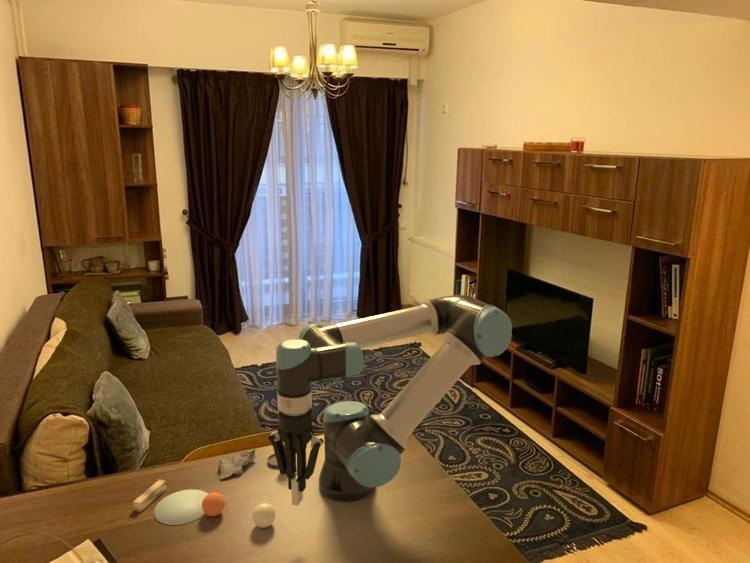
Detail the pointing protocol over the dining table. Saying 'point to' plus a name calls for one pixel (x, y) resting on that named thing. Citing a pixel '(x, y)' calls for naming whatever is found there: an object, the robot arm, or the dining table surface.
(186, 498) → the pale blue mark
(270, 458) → the pocket watch
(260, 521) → the cue ball
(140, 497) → the birch rail
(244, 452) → the mineral specimen
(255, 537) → the dining table surface
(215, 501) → the object ball
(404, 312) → the robot arm
